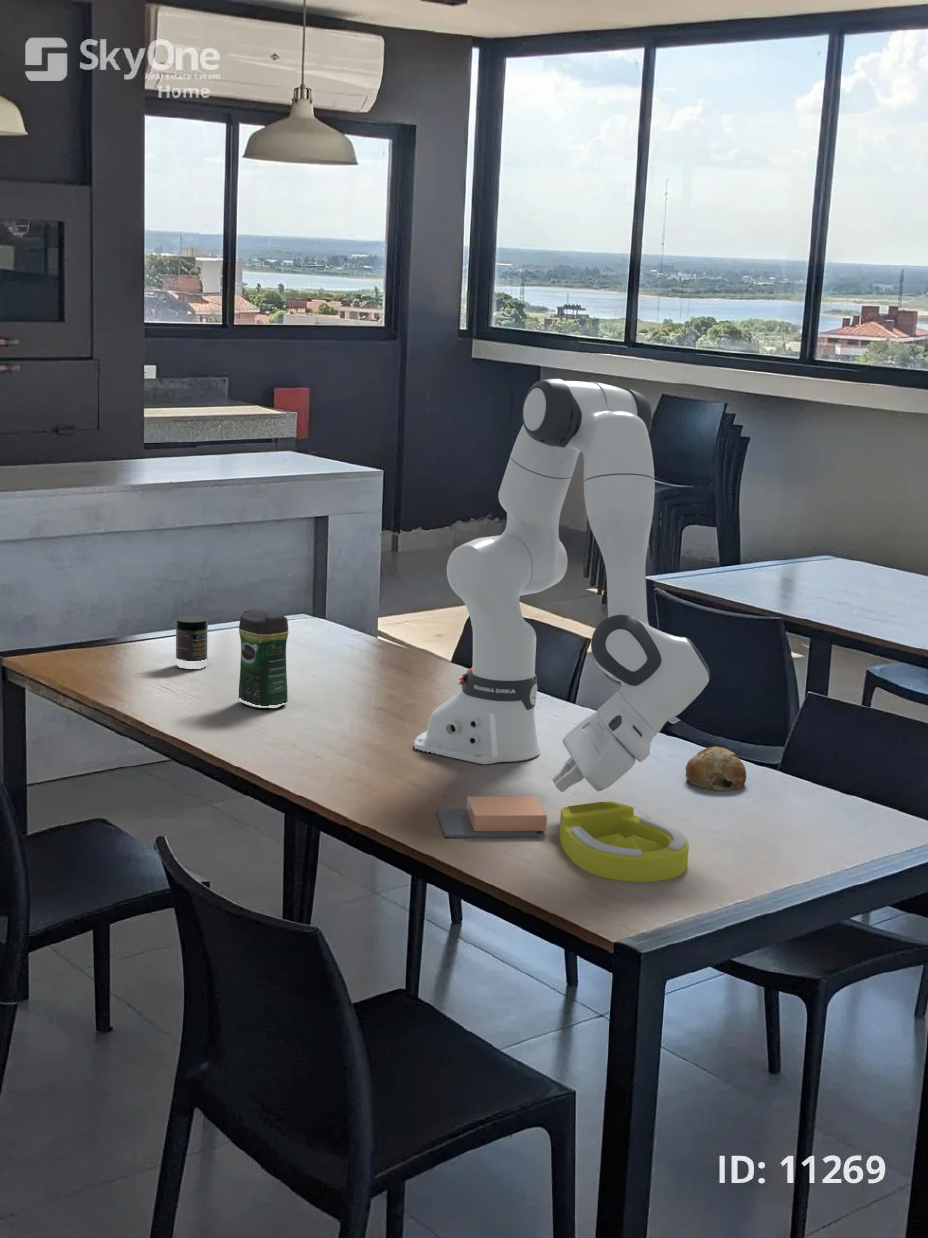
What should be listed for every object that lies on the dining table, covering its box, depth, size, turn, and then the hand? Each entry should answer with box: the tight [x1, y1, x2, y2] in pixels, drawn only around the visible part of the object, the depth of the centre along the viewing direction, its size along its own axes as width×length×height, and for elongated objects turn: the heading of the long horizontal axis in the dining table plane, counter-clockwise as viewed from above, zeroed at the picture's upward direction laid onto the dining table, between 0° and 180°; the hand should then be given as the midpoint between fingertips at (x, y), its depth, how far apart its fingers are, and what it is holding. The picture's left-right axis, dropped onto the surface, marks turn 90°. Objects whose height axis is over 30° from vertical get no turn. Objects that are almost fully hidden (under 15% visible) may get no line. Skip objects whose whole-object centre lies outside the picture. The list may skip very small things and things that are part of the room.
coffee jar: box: [238, 608, 289, 706], centre depth 296 cm, size 10×8×19 cm
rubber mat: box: [436, 808, 539, 839], centre depth 234 cm, size 14×12×1 cm
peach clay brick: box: [466, 795, 548, 832], centre depth 234 cm, size 2×9×11 cm
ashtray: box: [558, 801, 690, 883], centre depth 222 cm, size 16×21×5 cm
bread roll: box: [685, 746, 747, 792], centre depth 259 cm, size 10×10×8 cm
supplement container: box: [175, 615, 209, 661], centre depth 325 cm, size 7×7×10 cm
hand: (556, 786), depth 234 cm, fingers closed
